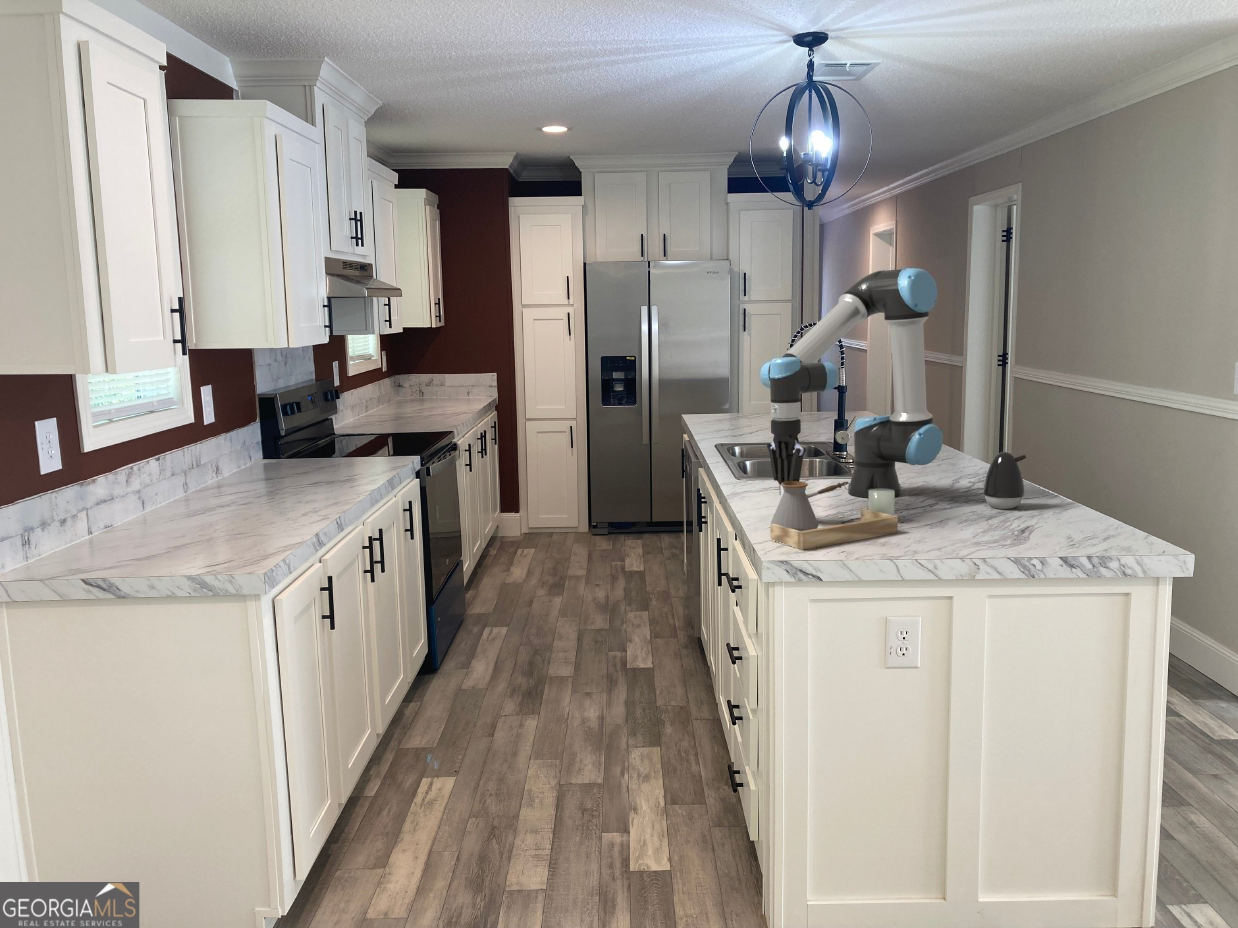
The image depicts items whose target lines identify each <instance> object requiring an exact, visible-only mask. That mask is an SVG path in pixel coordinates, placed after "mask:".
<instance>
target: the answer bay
mask: <svg viewBox="0 0 1238 928" xmlns="http://www.w3.org/2000/svg"><path fill="white" fill-rule="evenodd" d="M898 520H899V517H898V516H897V515H894V516H893V515H889V514H884V513H880V512H876V511H871V510H868V509H866V508H861V509H860V520H859V521H853V522H847V523H843V524H842V523H841V524H836V525H830V526H825V527H818V528H817V529H812V530H806V531H798V530H794V529H791V528H787V527H783V526H780V525H776V524H771V523H770V527H769V528H770V530H769V531H770V539H772V540H775V541H778V542H781V543H784V544H787V545H790V546H792V547H791V548H793V547H795V548H794V549H797V548H798V549H797V550H800V549H801V550H800V551H806V550H805V549H807V550H810V549H816V547H817V548H822V547H827V546H833V545H838V544H843V543H849V542H854V541H859V540H864V539H869V538H877V537H880V536H881V537H882V536H884V535H885V536H888V535H891V534H892V535H893V534H897V533H898V526H899V525H898V523H899V522H898ZM787 545H786V546H787ZM790 546H789V547H790Z"/></svg>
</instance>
